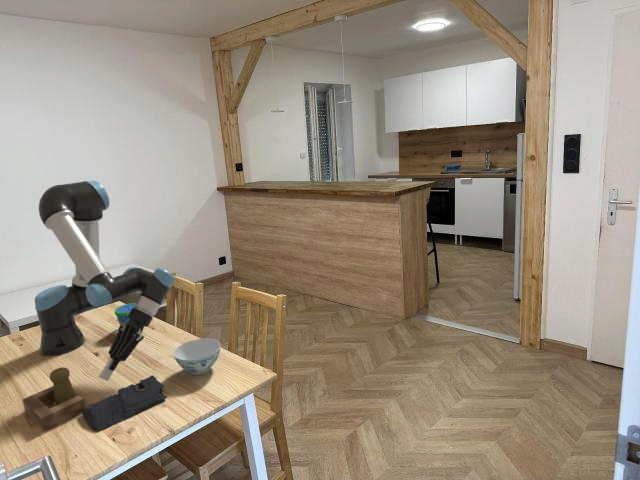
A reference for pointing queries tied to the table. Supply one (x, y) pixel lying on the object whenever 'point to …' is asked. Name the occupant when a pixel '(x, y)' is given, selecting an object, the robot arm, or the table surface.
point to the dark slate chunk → (124, 404)
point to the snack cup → (123, 313)
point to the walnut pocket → (55, 415)
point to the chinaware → (197, 355)
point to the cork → (62, 385)
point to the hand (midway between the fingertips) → (103, 378)
